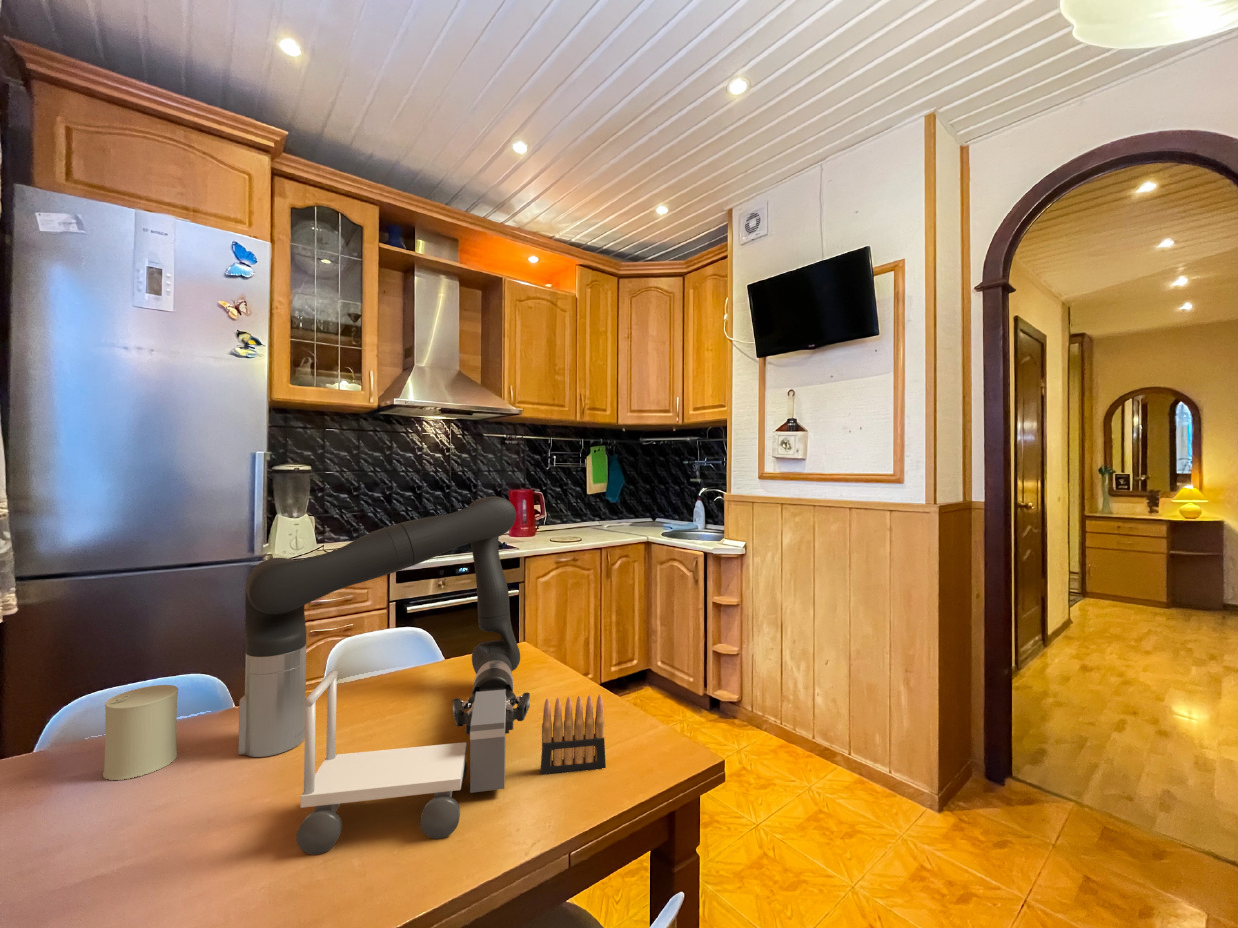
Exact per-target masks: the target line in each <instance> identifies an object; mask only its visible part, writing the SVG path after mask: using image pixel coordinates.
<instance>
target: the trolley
mask: <svg viewBox="0 0 1238 928" xmlns="http://www.w3.org/2000/svg"><path fill="white" fill-rule="evenodd" d="M338 673H339V672H338V671H337V670H330V672H328V674H327V675H326V676H325V677H324V678H323V679H322V680H321V682H320V683H318V684H317V686H316V687H315V688H314V689H313V690H312V691H311V692H310V693H309V694H308V696H307V697H306V699H305V700H304V705H305V738H304V748H303V749H304V750H303V751H304V753H303V754H304V755H303V760H304V762H303V763H304V764H303V792H302V793H301V795H300V808H301V809H302V808H310V807H314V811H312V812H310V813H309V814H308V815H307V816H305V818H304V819H303V821H302V822H301V824H300V826H299V827H298V830H297V832H296V843H297V847H299V849H300V850H301V851H303V852H304V853H305V854H307V855H308V854H309V855H316V856H317V855H321V854H324V853H327V852H328V851H330V850H331V849H332V848H333V847H334V846H335V845H336V843H337V842H338V840H339V837H340V835H341V832H342V830H343V821H342V820H341V819H342V818H341V817H340V815H339V814H337V811H338V808H340V807H339V806H340V805H341V804H347V803H356V802H364V801H373V800H382V799H392V798H399V797H407V796H410V797H411V796H418V795H419V796H420V795H427V794H434V795H433V796H434V797H433V798H432V799H430V800H429V801H428V802H427V803H426V804H425V806H424V807H423V810H422V813H421V817H420V821H419V822H420V823H419V824H420V828H421V830H422V832H423V834H424V835H425V836H426V837H428V838H430V839H434V840H440V839H444V838H448V837H449V836H450V835H452V834H453V833H454V832H455V830H456V829H457V828H458V825H459V822H460V817H461V808H460V805H459V803H458V801H457V800H456V799H455V798H453V797H452V794H453V791H461V789H462V784H463V782H464V781H465V779H466V776H467V773H468V772H467V771H468V763H467V760H466V758H467V754H468V753H467V752H468V744H467V743H468V742H466V741H465V742H455V743H445V744H443V743H442V744H435V745H424V746H412V747H403V748H402V747H401V748H391V749H381V750H371V751H370V750H369V751H359V752H349V753H337V754H336V750H337V748H336V743H337V742H336V741H337V738H336V737H337V684H338V683H337V678H338V676H339V674H338ZM326 690H327V691H326ZM325 691H326V698H327V699H326V751H325V753H326V756H325V759H324V760H323V762H322V763H321V764H320V766H319V768H318V770H317V771H316V770H315V769H316V768H315V767H316V766H315V765H316V763H315V762H316V714H317V713H316V711H317V710H316V704H317V703H316V702H317V701H318V699H319V698H320V697H321V696H322V694H324V692H325ZM315 771H316V773H315Z"/></svg>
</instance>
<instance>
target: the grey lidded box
mask: <svg viewBox="0 0 1238 928" xmlns="http://www.w3.org/2000/svg"><path fill="white" fill-rule="evenodd" d="M505 715H506V690H494V691H482V692H476V695H475V701H474V707H473V713H472V719H471V725H470V737H469V740H470V741H469V743H470V744H469V745H470V747H469V749H470V750H469V752H470V753H469V754H470V755H469V756H470V757H469V758H470V759H469V760H470V763H469V766H470V767H469V771H470V772H469V775H470V777H469V783H470V784H469V793H478V792H480V793H481V792H487V791H497V790H505V782H506V781H505V780H506V779H505V776H506V774H505V773H506V734H505Z"/></svg>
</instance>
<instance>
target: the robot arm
mask: <svg viewBox="0 0 1238 928" xmlns="http://www.w3.org/2000/svg"><path fill="white" fill-rule="evenodd" d="M516 519H517V511H516V509H515V506H514V505H513V504H512V502H511V501H509V499H506V498H503V497H501V496H493V495H492V496H485V497H480V498H477V499H475V500H474V501H471V503H470V504H469V506H468V507H465V508H463V509H460V510H456V511H454V512H451V513H446V514H441V515H434V516H427V517H421V518H416V519H412V520H408V521H402V522H400V523H395V524H391V525H389V526H385V527H383V528H379V529H375V530H374V531H371V532H369V533H367V534H365V535H361V536H360V537H358V538H356V539H354V540H352V541H351V542H349V543H347V544H345V545H343V546H341V547H338V548H337V549H335V550H331V551H329V552H326V553H325V552H324V553H322V554H317V555H314V556H310V557H306V558H301V559H295V560H292V559H290V558H287V557H272V558H268V559H266V560H263V561H261V562H259V563H258V564H257V565H256V566H254V568H252V570H251V571H250V572H249V574H248V576H247V578H246V581H245V582H246V583H245V594H244V595H245V597H244V598H245V599H244V600H245V605H244V607H245V610H244V617H245V618H244V637H245V638H244V639H245V640H244V641H245V670H244V671H245V678H244V679H245V680H244V695H243V696H242V697H241V698H240V699H239V701H238V702H239V703H238V706H239V707H238V747H237V751H238V752H237V753H238V756H239V755H240V756H241V755H245V756H248V757H253V758H262V757H270V756H275V755H279V754H282V753H285V752H288V751H289V750H292V749H294V748H295V747H297V746H299V745H300V744H302V742H303V741H305V705H304V700H305V699H306V698H307V697H306V690H307V689H306V688H307V626H306V625H307V624H306V617H305V606H306V605H307V604H310V603H311V602H314V601H315V600H319V599H321V598H323V597H325V596H327V595H329V594H332V593H334V592H336V591H339V590H342V589H345V588H348V587H350V586H353V585H358V584H362V583H365V582H368V581H371V580H374V579H377V578H381V577H383V576H386V575H390V574H393V573H396V572H400V571H402V570H405V569H407V568H410V567H413V566H417V565H418V564H421V563H424V562H425V561H428V560H431V559H433V558H435V557H439V556H440V555H444V554H445V553H447V552H449V551H452V550H454V549H456V548H458V547H462V546H465V545H467V544H470V545H471V546H470V547H471V552H472V559H473V563H474V564H473V565H474V572H475V582H476V584H475V585H476V597H477V598H476V599H477V600H476V601H477V618H478V620H477V621H478V627H479V629H480V630H481V631H483V632H490V633H496V634H498V635H500V636H501V637H502V639H497V640H489V641H481V642H479V643H477V645H475V646H474V648H473V649H472V653H471V662H472V663H471V665H472V668H473V670H474V672H475V674H476V675H475V678H474V681H473V687H472V693H471V696H469V697H468V700H461V698H459V697H455V698H453V699H452V715H453V719H454V722H455V724H456V727H459V728H460V727H463V726H464V725H465V734H466V735H468V736H469V738H470V725H471V719H472V713H473V707H474V701H475V695H476V692H482V691H494V690H506V715H505V735H506V734H510V731H513V730H514V721H515V720H517V722H522V721H524V720H525V719H526V716H527V714H528V713H529V712H528V711H529V709H530V703H531V700H530V698H531V696H530V695H531V694H530V692H527V691H526V692H523V693H522V695H519V696H516V694H515V693H514V678H513V673H512V672H514V671H515V670H516V669H517V668H518V666H519V665H520V661H521V652H520V648H519V646H518V642H517V640H516V637H515V635H514V631H513V627H512V621H511V611H510V596H509V595H510V593H509V588H508V582H507V580H506V576H505V573H504V570H503V567H502V563H501V559H500V558H501V557H500V549H499V539H500V538H499V537H501V536H503V535H505V534H506V533H508V532H509V531H510V530H511V529H512V528H513V527H514V524H515V522H516ZM515 705H517V706H516V707H515ZM514 707H515V708H514ZM467 709H468V710H467ZM466 710H467V711H466Z"/></svg>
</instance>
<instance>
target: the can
mask: <svg viewBox="0 0 1238 928" xmlns="http://www.w3.org/2000/svg"><path fill="white" fill-rule="evenodd" d="M178 693H179V687H178V686H176V685H174V684H171V685H170V684H159V685H157V684H156V685H150V686H144V687H139V688H134V689H131V690H128V691H124V692H122V693H120V694H117V695H114V696H112V697H111V698H109V699H108V700H107V701H106V702H105V703H104V706H105V710H104V711H105V720H104V721H105V723H104V724H105V733H104V735H105V736H104V741H105V742H104V745H105V746H104V766H103V773H102V777H103V778H104V779H105V780H107V779H109V780H108V781H113V780H118V781H125V780H124V779H127V780H131V779H130V778H133V779H135V778H134V777H137V776H141V777H143V776H142V775H144V774H147V775H149V774H148V773H150V772H153V773H154V771H155V772H157V771H156V770H158V771H159V769H160V770H162V769H163V767H164V768H166V767H167V766H169V765H170V764H171V762H172V763H173V762H174V761H175V760H176V759H177V757H178V750H177V729H178V728H177V727H178V726H177V723H178V695H179V694H178ZM161 768H162V769H161ZM150 774H151V773H150ZM144 776H145V775H144ZM137 778H138V777H137Z"/></svg>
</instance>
